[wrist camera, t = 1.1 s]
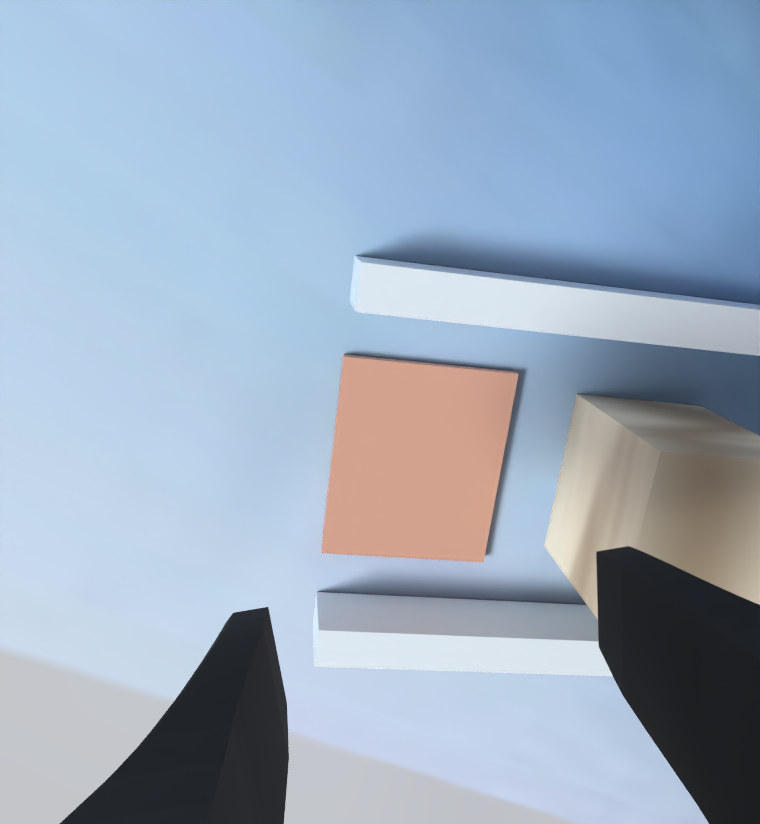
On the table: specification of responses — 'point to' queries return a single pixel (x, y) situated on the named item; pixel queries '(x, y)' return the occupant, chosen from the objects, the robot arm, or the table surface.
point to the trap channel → (466, 463)
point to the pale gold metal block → (658, 493)
